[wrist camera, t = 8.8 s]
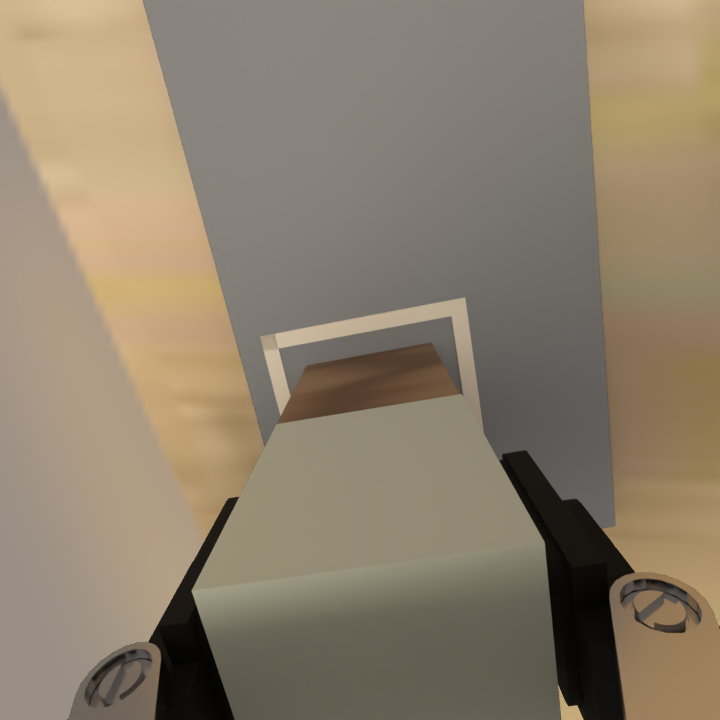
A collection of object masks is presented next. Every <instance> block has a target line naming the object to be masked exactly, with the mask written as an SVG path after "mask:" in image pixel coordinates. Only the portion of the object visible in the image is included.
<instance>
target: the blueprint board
mask: <svg viewBox="0 0 720 720" xmlns="http://www.w3.org/2000/svg"><path fill="white" fill-rule="evenodd" d="M143 3H144V7H145V11H146V14H147V18H148V22H149V25H150V29H151V33H152V36H153V40H154V44H155V47H156V51H157V55H158V58H159V62H160V65H161V69H162V73H163V76H164V80H165V84H166V87H167V91H168V95H169V98H170V102H171V106H172V109H173V113H174V117H175V120H176V124H177V128H178V131H179V135H180V138H181V142H182V146H183V149H184V153H185V157H186V160H187V164H188V168H189V171H190V175H191V179H192V182H193V186H194V190H195V193H196V197H197V200H198V204H199V208H200V211H201V215H202V219H203V222H204V226H205V230H206V233H207V237H208V241H209V244H210V248H211V252H212V255H213V259H214V263H215V266H216V270H217V273H218V277H219V281H220V284H221V288H222V292H223V295H224V299H225V303H226V306H227V310H228V314H229V317H230V321H231V325H232V328H233V332H234V336H235V339H236V343H237V346H238V350H239V354H240V357H241V361H242V365H243V368H244V372H245V376H246V379H247V383H248V387H249V390H250V394H251V398H252V401H253V405H254V409H255V412H256V416H257V419H258V423H259V427H260V430H261V434H262V438H263V441H264V445H265V446H266V444H267V442H268V440H269V438H270V436H271V434H272V432H273V430H274V428H275V426H276V424H277V422H278V420H279V418H280V416H281V414H282V412H283V410H284V408H285V406H286V405H287V403H288V401H289V399H290V397H291V395H292V393H293V391H294V389H295V387H296V385H297V383H298V381H299V379H300V377H301V375H302V373H303V371H304V369H305V367H306V366H307V365H312V364H317V363H323V362H328V361H334V360H339V359H345V358H350V357H355V356H361V355H366V354H372V353H377V352H383V351H388V350H393V349H399V348H404V347H410V346H415V345H420V344H426V343H432V344H433V346H434V348H435V350H436V352H437V354H438V355H439V357H440V359H441V361H442V363H443V365H444V366H445V368H446V370H447V372H448V374H449V376H450V377H451V379H452V381H453V383H454V385H455V387H456V388H457V390H458V392H459V394H462V396H463V397H464V399H465V401H466V403H467V404H468V406H469V408H470V410H471V412H472V413H473V415H474V417H475V419H476V421H477V422H478V424H479V426H480V428H481V429H482V431H483V433H484V435H485V437H486V438H487V440H488V442H489V444H490V446H491V447H492V449H493V451H494V453H495V454H496V456H497V458H498V460H502V454H504V453H510V452H516V451H523V450H526V451H527V452H528V453H529V455H530V456H531V457H532V459H533V460H534V462H535V463H536V464H537V466H538V467H539V469H540V470H541V471H542V473H543V474H544V476H545V477H546V478H547V480H548V481H549V483H550V484H551V485H552V487H553V488H554V490H555V491H556V492H557V494H558V495H559V497H560V498H561V500H568V499H574V498H575V499H578V500H579V501H580V502H581V503H582V505H583V506H584V507H585V508H586V510H587V511H588V512H589V514H590V515H591V516H592V517H593V519H594V520H595V521H596V523H597V524H598V525H599V526H600V528H607V527H614V526H615V511H614V495H613V478H612V462H611V445H610V429H609V413H608V396H607V380H606V364H605V347H604V331H603V314H602V298H601V282H600V265H599V249H598V233H597V216H596V200H595V183H594V167H593V151H592V134H591V118H590V102H589V85H588V69H587V52H586V36H585V20H584V3H583V0H143Z"/></svg>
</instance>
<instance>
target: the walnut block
mask: <svg viewBox="0 0 720 720" xmlns="http://www.w3.org/2000/svg"><path fill="white" fill-rule="evenodd" d="M458 394H459V392H458V390H457V388H456V387H455V385H454V383H453V381H452V379H451V377H450V376H449V374H448V372H447V370H446V368H445V366H444V365H443V363H442V361H441V359H440V357H439V355H438V354H437V352H436V350H435V348H434V346H433V344H432V343H426V344H420V345H415V346H410V347H404V348H399V349H393V350H388V351H383V352H377V353H372V354H366V355H361V356H355V357H350V358H345V359H339V360H334V361H328V362H323V363H317V364H312V365H307V366H306V367H305V369H304V371H303V373H302V375H301V377H300V379H299V381H298V383H297V385H296V387H295V389H294V391H293V393H292V395H291V397H290V399H289V401H288V403H287V405H286V406H285V408H284V410H283V412H282V414H281V416H280V418H279V420H278V422H277V424H280V423H287V422H293V421H299V420H305V419H311V418H317V417H323V416H329V415H335V414H342V413H348V412H354V411H360V410H366V409H372V408H378V407H384V406H391V405H397V404H403V403H409V402H415V401H421V400H427V399H433V398H439V397H446V396H452V395H458Z"/></svg>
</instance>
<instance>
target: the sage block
mask: <svg viewBox="0 0 720 720" xmlns="http://www.w3.org/2000/svg"><path fill="white" fill-rule="evenodd" d="M192 594H193V597H194V600H195V603H196V606H197V609H198V612H199V615H200V618H201V621H202V624H203V627H204V630H205V633H206V636H207V639H208V642H209V645H210V647H211V650H212V653H213V656H214V659H215V662H216V665H217V668H218V671H219V674H220V677H221V680H222V683H223V686H224V689H225V692H226V695H227V698H228V701H229V704H230V707H231V710H232V713H233V716H234V719H235V720H561V711H560V701H559V690H558V679H557V669H556V658H555V647H554V637H553V626H552V615H551V605H550V594H549V583H548V573H547V562H546V551H545V542H544V540H543V538H542V537H541V535H540V533H539V531H538V530H537V528H536V526H535V524H534V522H533V521H532V519H531V517H530V515H529V513H528V512H527V510H526V508H525V506H524V505H523V503H522V501H521V499H520V497H519V496H518V494H517V492H516V490H515V488H514V487H513V485H512V483H511V481H510V480H509V478H508V476H507V474H506V472H505V471H504V469H503V467H502V465H501V463H500V462H499V460H498V458H497V456H496V454H495V453H494V451H493V449H492V447H491V446H490V444H489V442H488V440H487V438H486V437H485V435H484V433H483V431H482V429H481V428H480V426H479V424H478V422H477V421H476V419H475V417H474V415H473V413H472V412H471V410H470V408H469V406H468V404H467V403H466V401H465V399H464V397H463V396H462V394H458V395H452V396H446V397H439V398H433V399H427V400H421V401H415V402H409V403H403V404H397V405H391V406H384V407H378V408H372V409H366V410H360V411H354V412H348V413H342V414H335V415H329V416H323V417H317V418H311V419H305V420H299V421H293V422H287V423H280V424H276V426H275V428H274V430H273V432H272V434H271V436H270V438H269V440H268V442H267V444H266V446H265V448H264V450H263V452H262V454H261V456H260V458H259V459H258V461H257V463H256V465H255V467H254V469H253V471H252V473H251V475H250V477H249V479H248V481H247V483H246V485H245V487H244V489H243V491H242V493H241V495H240V497H239V499H238V501H237V503H236V505H235V507H234V509H233V511H232V512H231V514H230V516H229V518H228V520H227V522H226V524H225V526H224V528H223V530H222V532H221V534H220V536H219V538H218V540H217V542H216V544H215V546H214V548H213V550H212V552H211V554H210V556H209V558H208V560H207V562H206V564H205V565H204V567H203V569H202V571H201V573H200V575H199V577H198V579H197V581H196V583H195V585H194V587H193V589H192Z"/></svg>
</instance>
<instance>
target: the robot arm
mask: <svg viewBox="0 0 720 720" xmlns="http://www.w3.org/2000/svg"><path fill="white" fill-rule="evenodd" d="M499 462H500V463H501V465H502V467H503V469H504V471H505V472H506V474H507V476H508V478H509V480H510V481H511V483H512V485H513V487H514V488H515V490H516V492H517V494H518V496H519V497H520V499H521V501H522V503H523V505H524V506H525V508H526V510H527V512H528V513H529V515H530V517H531V519H532V521H533V522H534V524H535V526H536V528H537V530H538V531H539V533H540V535H541V537H542V538H543V540H544V542H545V551H546V562H547V573H548V583H549V594H550V605H551V615H552V626H553V637H554V647H555V658H556V669H557V679H558V685H559V687H560V690H561V692H562V694H563V697H564V699H565V701H566V703H567V705H568V706H574V705H578V708H579V710H580V712H581V715H582V717H583V719H584V720H720V626H719V625H718V623H717V620H716V618H715V615H714V612H713V610H712V608H711V607H710V605H709V604H708V602H707V600H706V599H705V598H704V597H703V596H702V595H701V594H700V593H698V592H697V591H696V590H695V589H694V588H692V587H690V586H689V585H687V584H685V583H684V582H682V581H680V580H677V579H674V578H672V577H669V576H666V575H661V574H656V573H646V572H637V573H635V572H634V570H633V569H632V568H631V566H630V565H629V564H628V562H627V561H626V560H625V559H624V557H623V556H622V555H621V553H620V552H619V551H618V550H617V548H616V547H615V546H614V544H613V543H612V542H611V541H610V539H609V538H608V537H607V535H606V534H605V533H604V532H603V530H602V529H601V528H600V526H599V525H598V524H597V523H596V521H595V520H594V519H593V517H592V516H591V515H590V514H589V512H588V511H587V510H586V508H585V507H584V506H583V505H582V503H581V502H580V501H579V500H578V499H575V498H574V499H568V500H561V498H560V497H559V495H558V494H557V492H556V491H555V490H554V488H553V487H552V485H551V484H550V483H549V481H548V480H547V478H546V477H545V476H544V474H543V473H542V471H541V470H540V469H539V467H538V466H537V464H536V463H535V462H534V460H533V459H532V457H531V456H530V455H529V453H528V452H527V451H526V450H523V451H516V452H510V453H504V454H502V460H499ZM238 499H239V497H235V498H229V499H228V500H227V501H226V503H225V505H224V507H223V509H222V510H221V512H220V514H219V516H218V518H217V520H216V521H215V523H214V525H213V527H212V529H211V530H210V532H209V534H208V536H207V538H206V539H205V541H204V543H203V545H202V547H201V549H200V551H199V552H198V554H197V556H196V558H195V560H194V561H193V562H192V564H191V566H190V567H189V569H188V571H187V573H186V575H185V576H184V578H183V580H182V582H181V584H180V586H179V588H178V589H177V591H176V593H175V595H174V596H173V598H172V600H171V602H170V604H169V606H168V607H167V609H166V611H165V613H164V615H163V616H162V618H161V620H160V622H159V624H158V626H157V627H156V629H155V631H154V633H153V635H152V636H151V638H150V640H149V642H137V643H134V644H130V645H127V646H124V647H122V648H121V649H119V650H117V651H115V652H113V653H111V654H110V655H108V656H107V657H106V658H104V659H103V660H101V661H100V662H99V663H98V664H97V665H96V666H95V667H94V668H93V669H92V670H91V671H90V672H89V673H88V675H87V676H86V677H85V679H84V680H83V681H82V682H81V684H80V686H79V688H78V691H77V693H76V695H75V698H74V702H73V705H72V708H71V712H70V715H69V718H68V720H235V719H234V716H233V713H232V710H231V707H230V704H229V701H228V698H227V695H226V692H225V689H224V686H223V683H222V680H221V677H220V674H219V671H218V668H217V665H216V662H215V659H214V656H213V653H212V650H211V647H210V645H209V642H208V639H207V636H206V633H205V630H204V627H203V624H202V621H201V618H200V615H199V612H198V609H197V606H196V603H195V600H194V597H193V594H192V589H193V587H194V585H195V583H196V581H197V579H198V577H199V575H200V573H201V571H202V569H203V567H204V565H205V564H206V562H207V560H208V558H209V556H210V554H211V552H212V550H213V548H214V546H215V544H216V542H217V540H218V538H219V536H220V534H221V532H222V530H223V528H224V526H225V524H226V522H227V520H228V518H229V516H230V514H231V512H232V511H233V509H234V507H235V505H236V503H237V501H238Z"/></svg>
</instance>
